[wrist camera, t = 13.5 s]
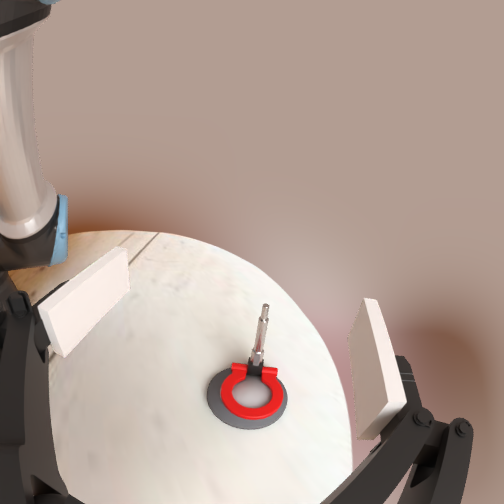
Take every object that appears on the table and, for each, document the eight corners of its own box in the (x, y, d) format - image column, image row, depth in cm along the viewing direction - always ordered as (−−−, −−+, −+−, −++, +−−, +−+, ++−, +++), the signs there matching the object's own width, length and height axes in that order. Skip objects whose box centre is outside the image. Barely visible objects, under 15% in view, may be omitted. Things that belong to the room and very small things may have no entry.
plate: (205, 369, 39) (205, 365, 39) (276, 367, 41) (277, 363, 41) (210, 431, 29) (210, 428, 29) (295, 424, 31) (296, 421, 31)
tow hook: (281, 424, 31) (282, 372, 39) (306, 362, 25) (300, 305, 33) (216, 416, 31) (226, 365, 39) (218, 352, 25) (231, 296, 33)
